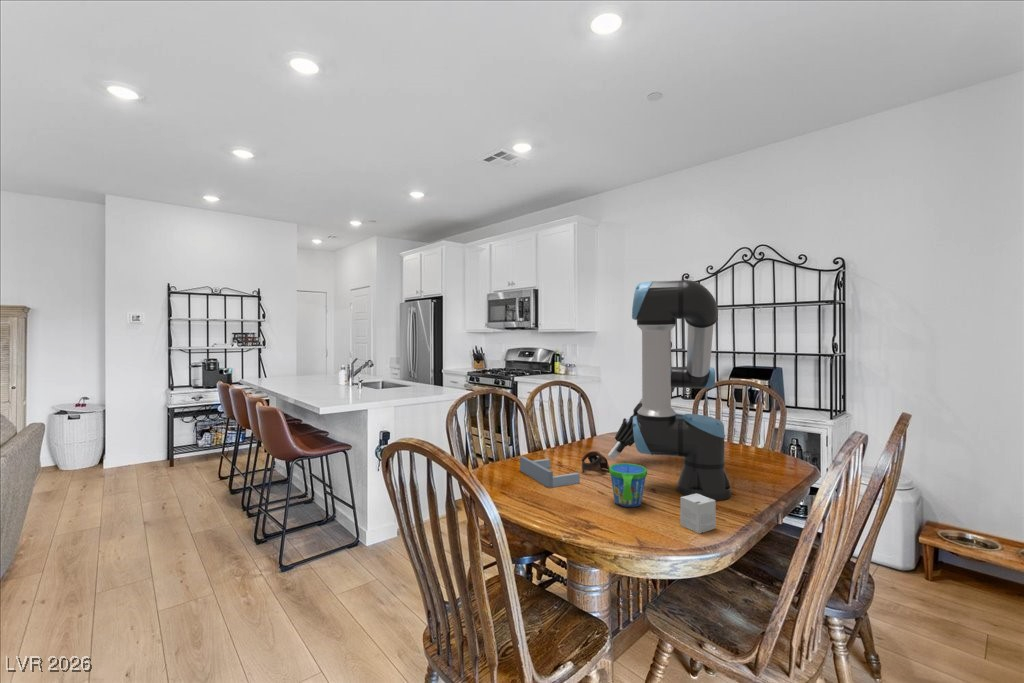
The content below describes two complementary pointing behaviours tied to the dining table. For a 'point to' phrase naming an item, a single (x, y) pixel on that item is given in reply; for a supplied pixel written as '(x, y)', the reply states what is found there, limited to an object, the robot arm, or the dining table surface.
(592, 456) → the pottery mug
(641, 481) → the snack cup
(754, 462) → the dining table surface
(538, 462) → the seat channel
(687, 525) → the skincare box
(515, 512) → the dining table surface
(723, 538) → the dining table surface
